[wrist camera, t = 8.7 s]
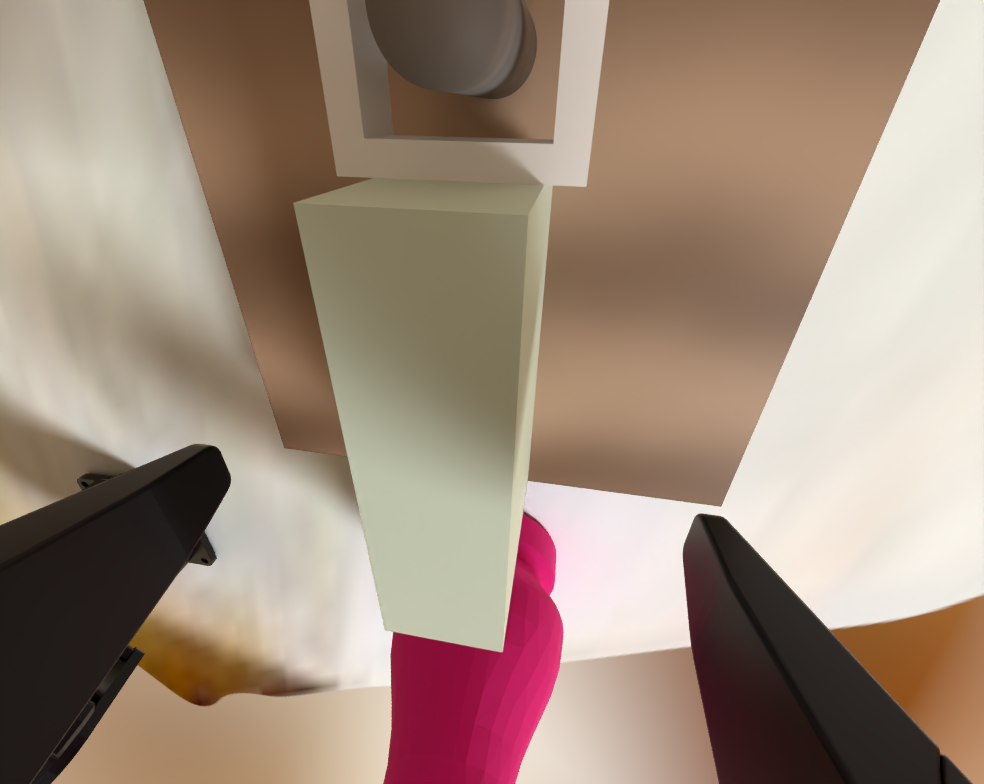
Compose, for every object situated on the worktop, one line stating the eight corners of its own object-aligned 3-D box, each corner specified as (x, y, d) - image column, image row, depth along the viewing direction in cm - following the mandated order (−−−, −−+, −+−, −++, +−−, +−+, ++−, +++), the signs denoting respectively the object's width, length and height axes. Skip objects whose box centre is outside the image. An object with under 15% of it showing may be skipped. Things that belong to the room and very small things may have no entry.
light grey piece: (547, 482, 15) (531, 657, 10) (427, 466, 16) (358, 625, 11) (618, -116, 8) (687, -547, 3) (379, -103, 8) (70, -437, 3)
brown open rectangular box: (700, 449, 17) (768, 640, 11) (322, 404, 19) (199, 543, 13) (876, -40, 10) (1427, -325, 3) (221, -23, 12) (-186, -177, 6)
